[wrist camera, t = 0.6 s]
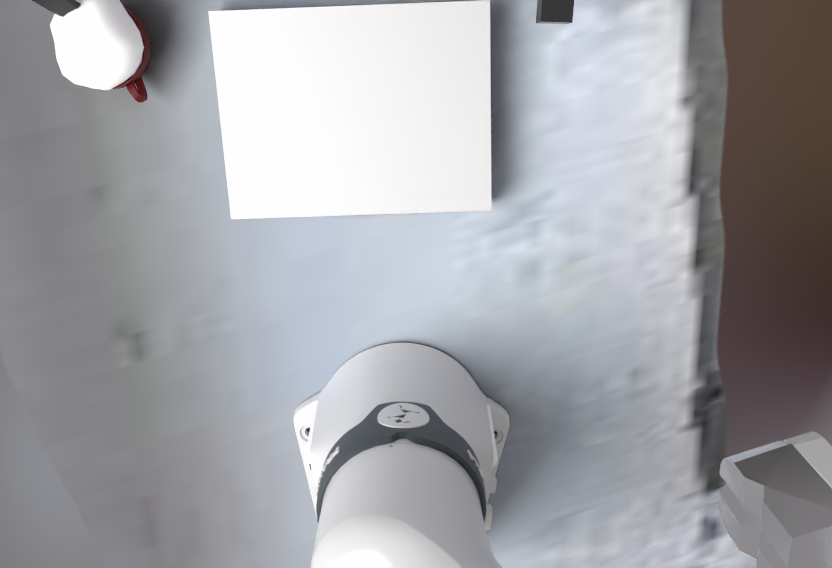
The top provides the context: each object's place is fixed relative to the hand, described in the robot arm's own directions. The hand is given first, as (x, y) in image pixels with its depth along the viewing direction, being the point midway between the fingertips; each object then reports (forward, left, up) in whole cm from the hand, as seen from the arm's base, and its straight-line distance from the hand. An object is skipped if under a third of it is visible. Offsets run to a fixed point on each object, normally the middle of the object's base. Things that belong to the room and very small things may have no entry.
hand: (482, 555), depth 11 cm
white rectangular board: (+4, +5, -48) cm, 49 cm away
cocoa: (+8, +23, -48) cm, 54 cm away
